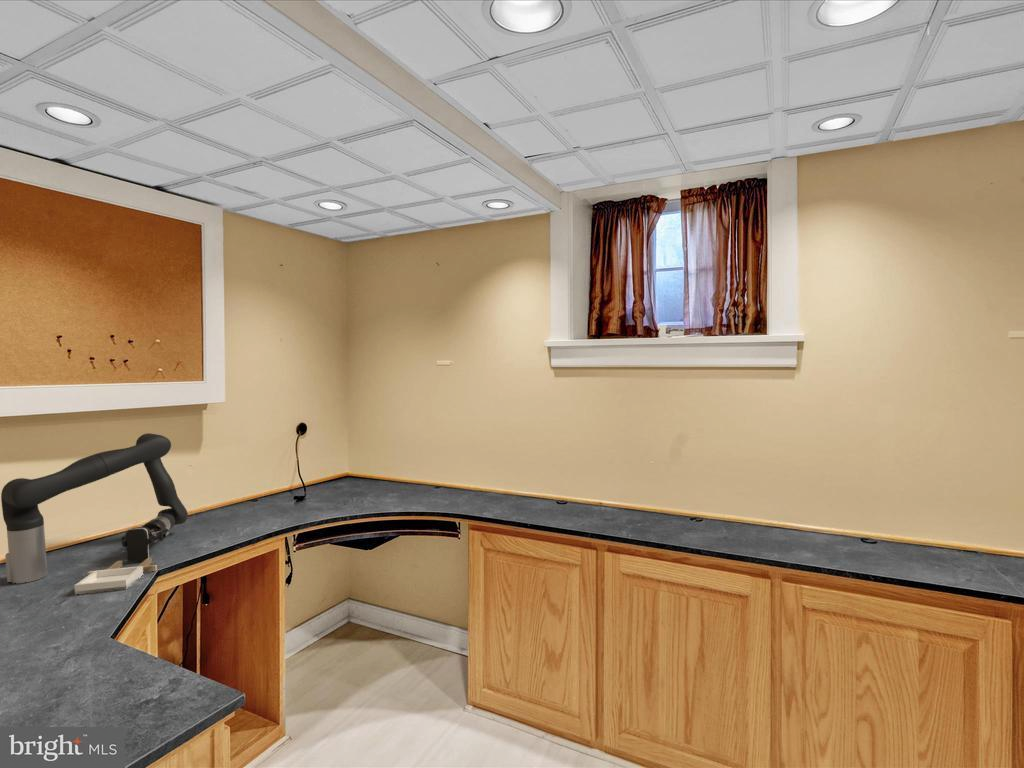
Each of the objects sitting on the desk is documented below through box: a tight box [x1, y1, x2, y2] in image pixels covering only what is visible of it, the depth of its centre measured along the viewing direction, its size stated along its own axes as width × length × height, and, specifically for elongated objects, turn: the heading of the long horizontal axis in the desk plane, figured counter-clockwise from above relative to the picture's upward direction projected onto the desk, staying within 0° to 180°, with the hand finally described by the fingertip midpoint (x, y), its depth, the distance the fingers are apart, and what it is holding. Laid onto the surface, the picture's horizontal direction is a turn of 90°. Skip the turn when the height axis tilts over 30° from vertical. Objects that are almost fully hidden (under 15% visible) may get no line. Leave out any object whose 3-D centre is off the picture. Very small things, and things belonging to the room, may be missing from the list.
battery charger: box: [125, 526, 151, 562], centre depth 197 cm, size 7×4×11 cm, turn 100°
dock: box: [87, 557, 158, 576], centre depth 188 cm, size 20×10×2 cm, turn 102°
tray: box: [73, 565, 144, 596], centre depth 176 cm, size 14×12×3 cm
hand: (136, 543), depth 194 cm, fingers closed on battery charger, 7 cm apart
